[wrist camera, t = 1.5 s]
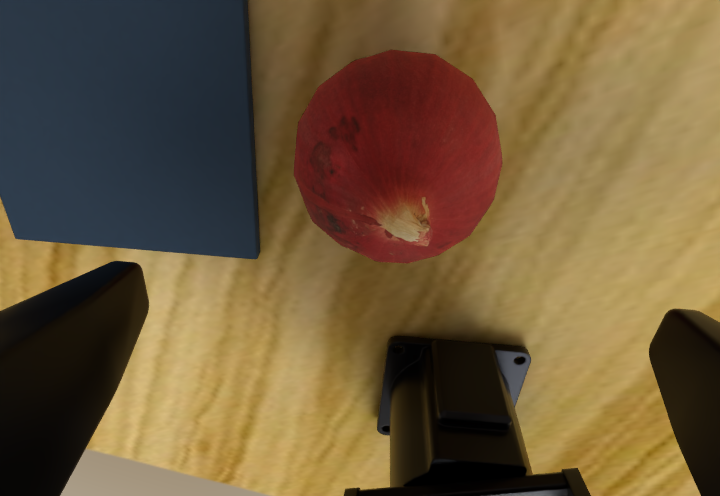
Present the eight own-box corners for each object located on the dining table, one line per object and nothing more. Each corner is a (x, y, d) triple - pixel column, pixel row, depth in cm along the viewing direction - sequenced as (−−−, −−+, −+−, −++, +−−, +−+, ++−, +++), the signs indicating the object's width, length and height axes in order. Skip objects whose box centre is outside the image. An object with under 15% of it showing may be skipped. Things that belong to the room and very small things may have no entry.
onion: (341, 210, 19) (315, 356, 12) (288, 63, 16) (215, 144, 9) (490, 173, 18) (553, 310, 11) (461, 7, 15) (521, 54, 8)
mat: (260, 252, 20) (257, 260, 20) (24, 232, 20) (14, 239, 20) (226, -429, 11) (218, -448, 10) (-216, -462, 11) (-246, -481, 10)
